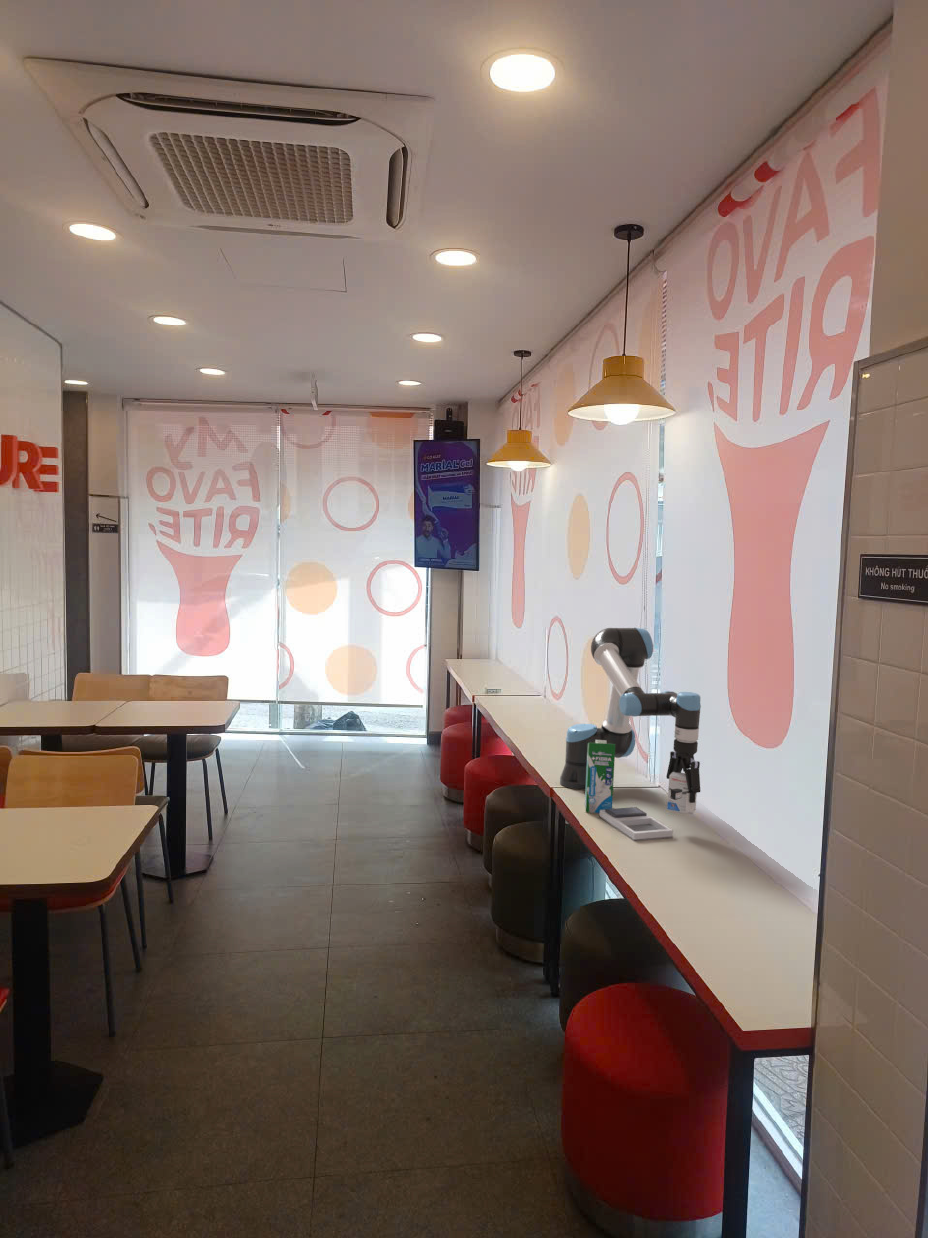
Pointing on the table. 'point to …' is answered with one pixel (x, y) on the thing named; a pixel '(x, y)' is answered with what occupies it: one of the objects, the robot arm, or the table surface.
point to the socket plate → (638, 827)
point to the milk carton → (599, 776)
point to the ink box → (678, 792)
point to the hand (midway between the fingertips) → (681, 806)
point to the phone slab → (625, 812)
